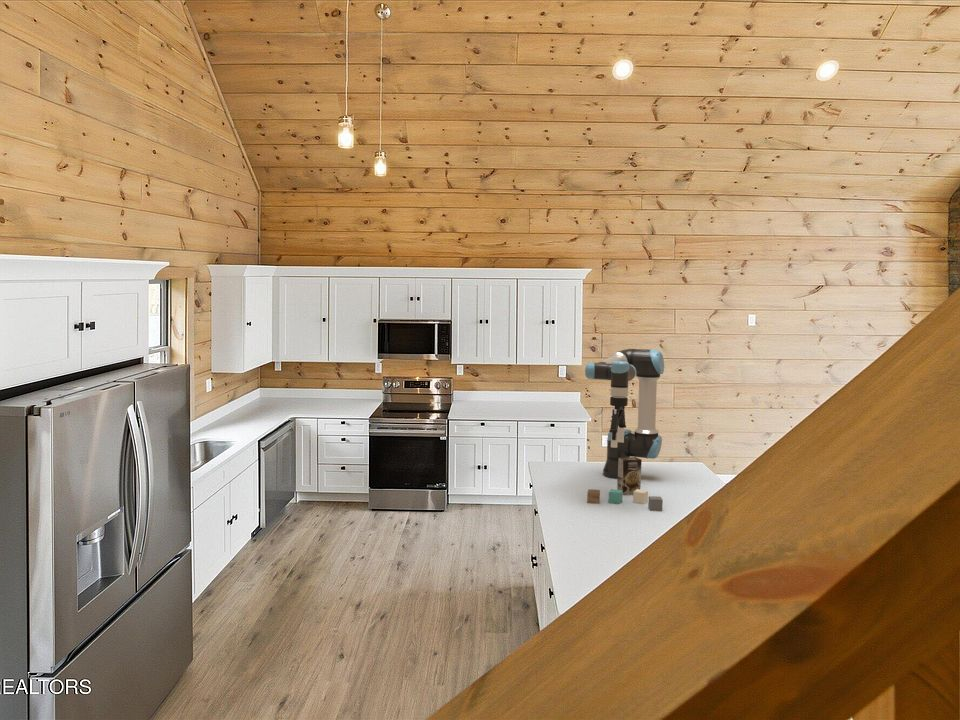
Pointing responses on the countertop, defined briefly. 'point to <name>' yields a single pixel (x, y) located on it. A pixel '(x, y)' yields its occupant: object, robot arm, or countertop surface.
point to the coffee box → (629, 474)
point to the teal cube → (615, 496)
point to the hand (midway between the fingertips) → (617, 444)
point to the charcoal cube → (655, 503)
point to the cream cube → (640, 496)
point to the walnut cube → (593, 496)
